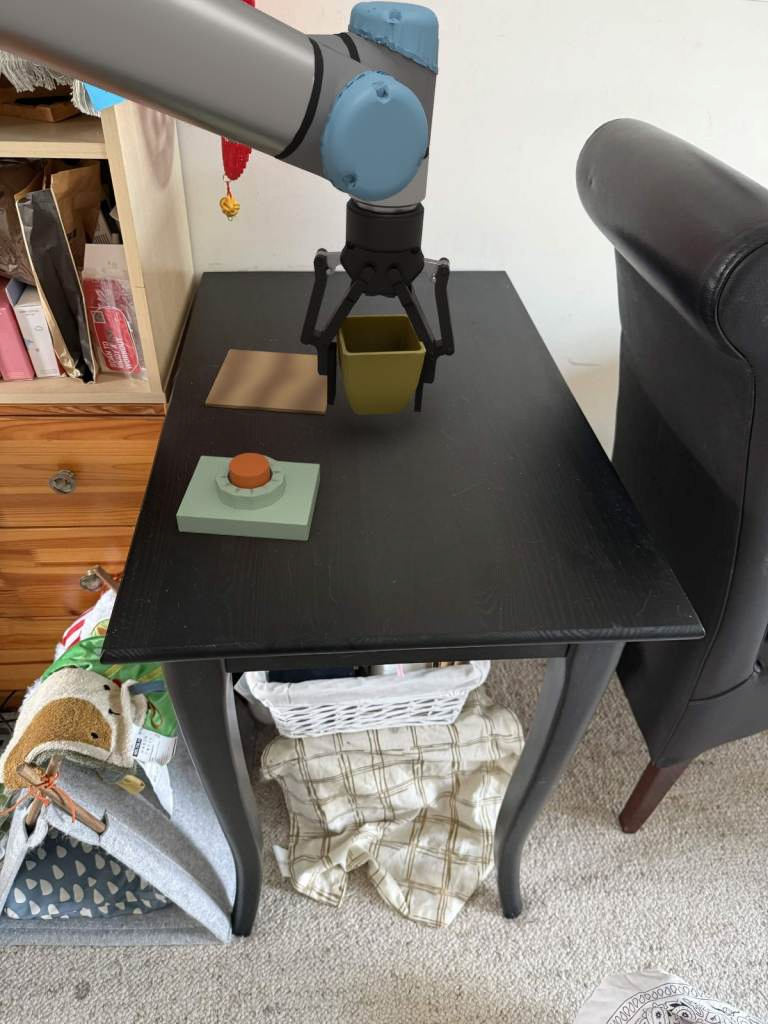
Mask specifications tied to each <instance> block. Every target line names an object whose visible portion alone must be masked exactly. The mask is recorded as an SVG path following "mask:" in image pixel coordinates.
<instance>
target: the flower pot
mask: <svg viewBox="0 0 768 1024" xmlns="http://www.w3.org/2000/svg"><path fill="white" fill-rule="evenodd" d="M335 342H337V363H338V366H339V370H340V374H341V378H342V381H343V386H344V389H345V390H344V391H345V394H346V398H347V401H348V404H349V405H350V408H351V409H352V411H353V412H354V414H356V416H357V415H358V416H366V415H387V414H389V415H391V414H399V413H400V412H401V411H402V410H404V409H405V408H406V406H408V404H409V403H410V401H411V400H412V398H413V397H414V396H415V392H416V388H417V385H418V382H419V378H420V373H421V369H422V365H423V361H424V357H425V353H426V349H425V347H424V344H423V342H419V339H418V337H417V335H416V333H415V331H414V328H413V326H412V324H411V322H410V320H409V317H408V315H407V313H405V314H404V313H403V314H402V313H397V314H395V313H393V314H366V315H365V314H364V315H363V314H362V315H361V314H359V315H358V314H357V315H348V316H347V318H346V319H345V321H344V323H343V324H342V326H341V328H340V329H339V331H338V332H337V334H336V336H335Z"/></svg>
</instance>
